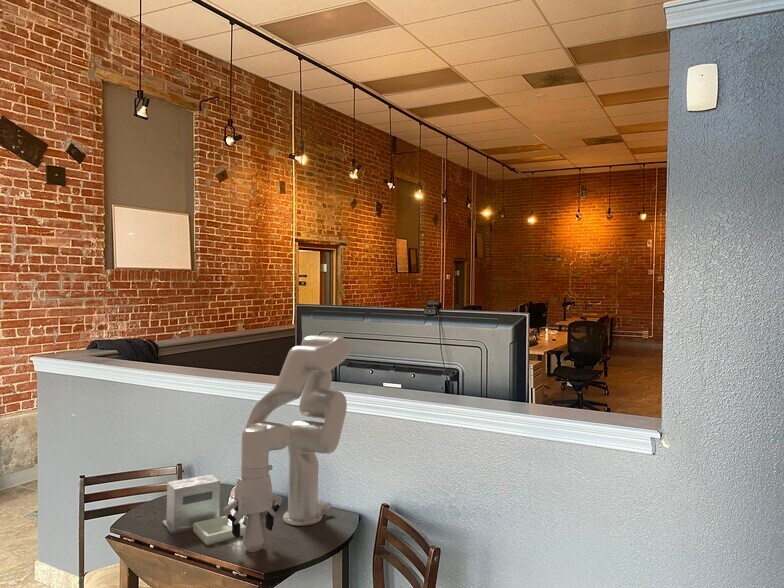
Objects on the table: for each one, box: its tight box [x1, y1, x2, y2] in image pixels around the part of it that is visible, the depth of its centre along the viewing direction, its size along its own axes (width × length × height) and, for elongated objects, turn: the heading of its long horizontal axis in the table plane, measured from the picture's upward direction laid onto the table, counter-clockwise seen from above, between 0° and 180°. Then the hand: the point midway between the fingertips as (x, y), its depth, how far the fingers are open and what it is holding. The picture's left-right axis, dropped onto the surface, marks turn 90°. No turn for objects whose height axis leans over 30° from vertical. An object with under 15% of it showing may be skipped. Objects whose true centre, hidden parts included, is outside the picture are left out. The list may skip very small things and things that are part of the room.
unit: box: [161, 474, 221, 535], centre depth 178 cm, size 16×10×13 cm, turn 127°
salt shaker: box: [242, 512, 265, 553], centre depth 160 cm, size 6×6×13 cm
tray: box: [192, 515, 246, 546], centre depth 170 cm, size 12×12×2 cm
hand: (252, 532), depth 159 cm, fingers open, 9 cm apart
